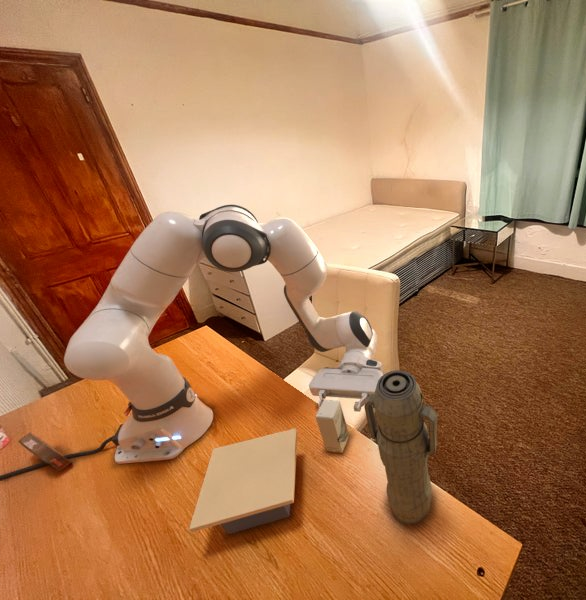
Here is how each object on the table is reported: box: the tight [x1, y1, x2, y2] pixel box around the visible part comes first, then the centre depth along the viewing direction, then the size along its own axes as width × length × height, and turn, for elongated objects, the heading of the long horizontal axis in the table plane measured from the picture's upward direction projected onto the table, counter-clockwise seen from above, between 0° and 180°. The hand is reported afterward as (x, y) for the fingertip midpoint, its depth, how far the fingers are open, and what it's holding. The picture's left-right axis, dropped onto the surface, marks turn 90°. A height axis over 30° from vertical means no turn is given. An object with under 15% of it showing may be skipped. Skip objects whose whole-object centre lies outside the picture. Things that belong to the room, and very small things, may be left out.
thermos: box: [363, 369, 438, 525], centre depth 55 cm, size 9×12×35 cm
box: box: [314, 399, 350, 454], centre depth 74 cm, size 5×4×13 cm
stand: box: [188, 427, 298, 535], centre depth 65 cm, size 18×16×9 cm
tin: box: [18, 431, 73, 472], centre depth 77 cm, size 15×3×8 cm, turn 65°
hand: (338, 408), depth 77 cm, fingers open, 8 cm apart
